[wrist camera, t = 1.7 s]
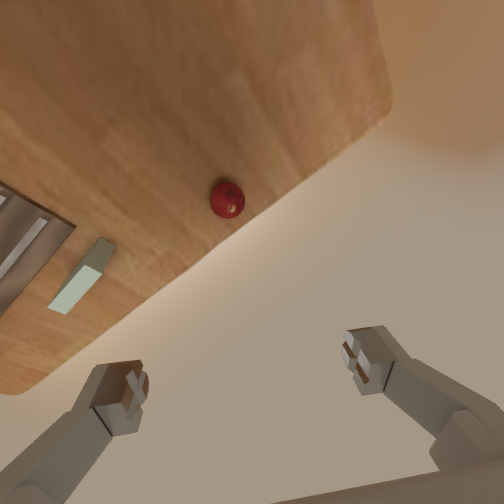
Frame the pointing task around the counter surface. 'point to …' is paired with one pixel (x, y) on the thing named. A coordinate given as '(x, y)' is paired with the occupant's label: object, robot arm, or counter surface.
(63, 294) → the door panel
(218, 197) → the onion
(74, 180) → the counter surface
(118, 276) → the counter surface
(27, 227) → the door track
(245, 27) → the counter surface
